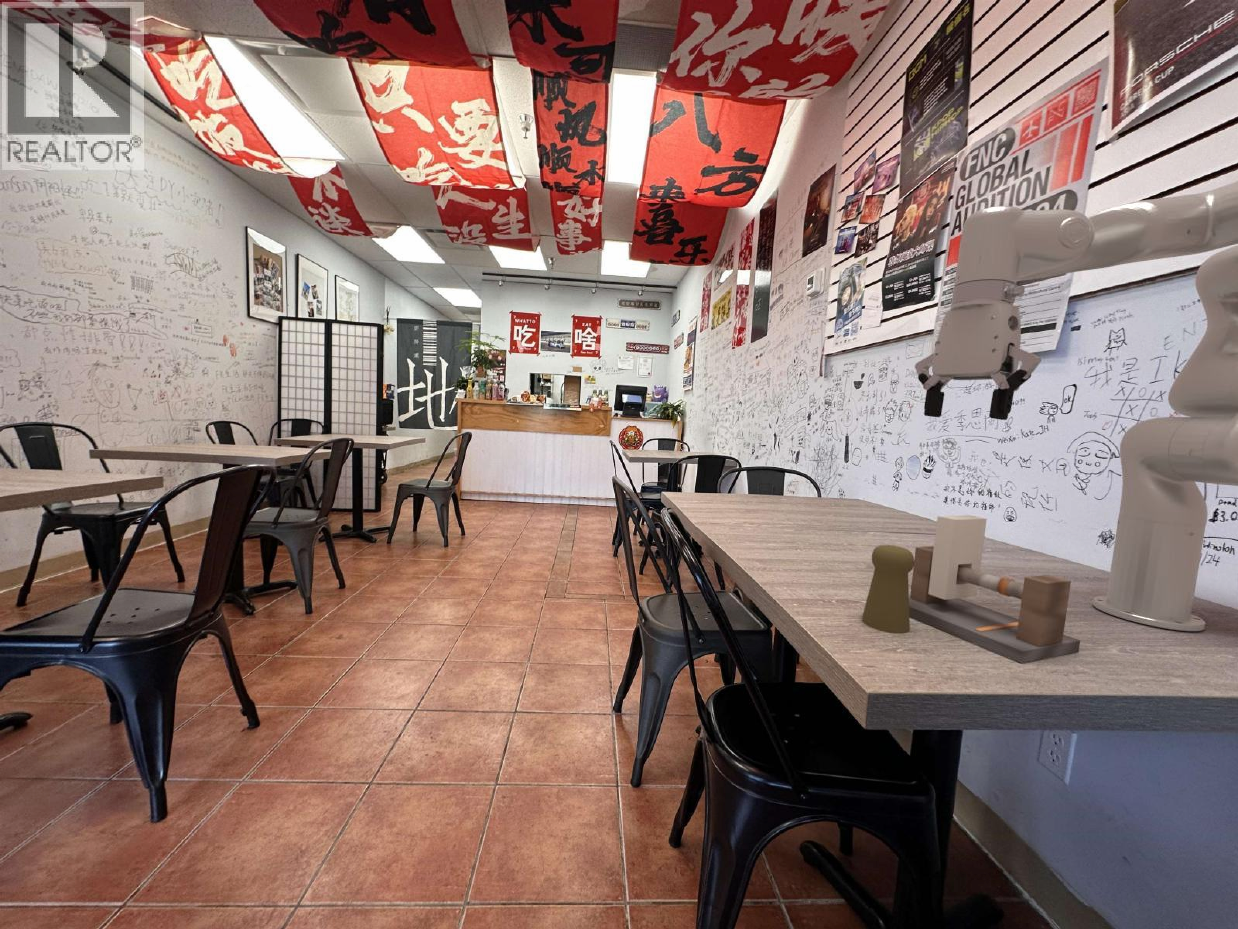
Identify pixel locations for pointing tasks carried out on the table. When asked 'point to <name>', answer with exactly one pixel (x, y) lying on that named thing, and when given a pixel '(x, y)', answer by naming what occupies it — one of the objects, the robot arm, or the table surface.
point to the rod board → (991, 629)
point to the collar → (956, 555)
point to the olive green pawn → (889, 590)
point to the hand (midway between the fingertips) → (963, 417)
